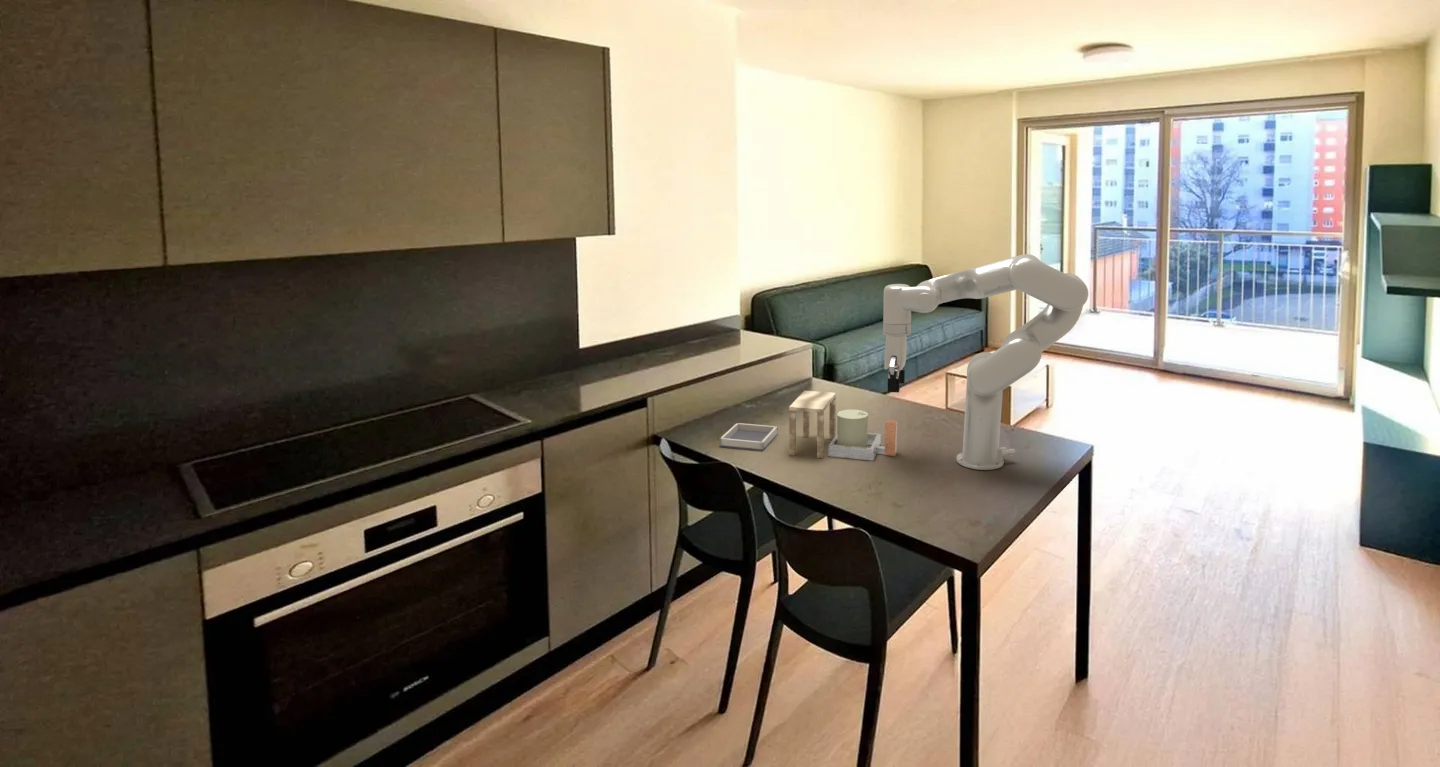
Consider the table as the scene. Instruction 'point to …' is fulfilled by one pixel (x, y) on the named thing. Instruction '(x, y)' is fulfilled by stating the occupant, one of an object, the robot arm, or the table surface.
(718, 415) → the table surface
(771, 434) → the tray
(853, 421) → the can
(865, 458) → the shallow grey tray
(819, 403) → the wooden stool
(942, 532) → the table surface
